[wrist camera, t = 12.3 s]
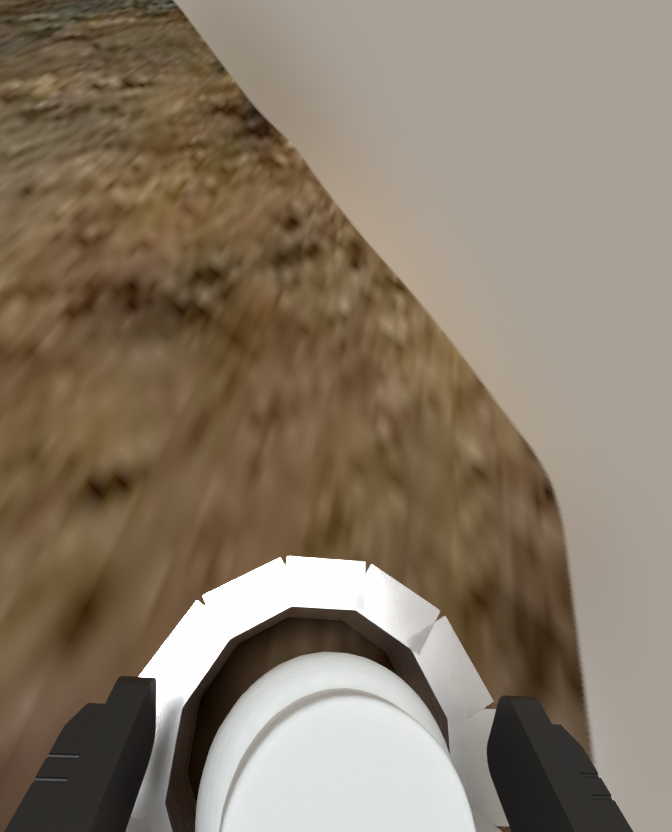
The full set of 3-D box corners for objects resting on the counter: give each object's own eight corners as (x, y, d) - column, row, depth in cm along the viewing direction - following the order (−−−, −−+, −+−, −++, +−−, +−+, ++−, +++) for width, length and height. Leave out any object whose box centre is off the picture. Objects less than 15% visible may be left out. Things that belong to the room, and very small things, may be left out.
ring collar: (66, 809, 13) (6, 850, 10) (274, 525, 18) (274, 497, 15) (359, 1080, 12) (389, 1225, 9) (502, 683, 17) (553, 688, 14)
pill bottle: (196, 816, 14) (72, 1053, 5) (265, 634, 16) (256, 599, 8) (360, 886, 13) (507, 1254, 5) (403, 688, 16) (547, 711, 8)
